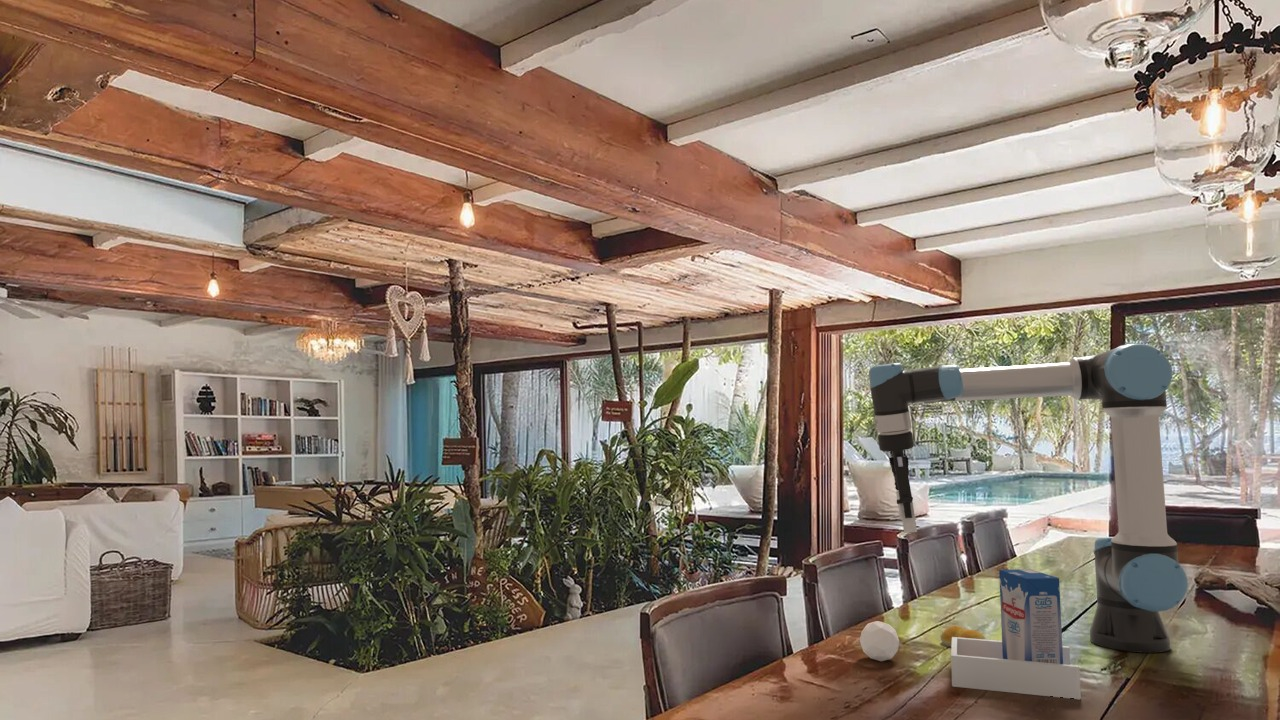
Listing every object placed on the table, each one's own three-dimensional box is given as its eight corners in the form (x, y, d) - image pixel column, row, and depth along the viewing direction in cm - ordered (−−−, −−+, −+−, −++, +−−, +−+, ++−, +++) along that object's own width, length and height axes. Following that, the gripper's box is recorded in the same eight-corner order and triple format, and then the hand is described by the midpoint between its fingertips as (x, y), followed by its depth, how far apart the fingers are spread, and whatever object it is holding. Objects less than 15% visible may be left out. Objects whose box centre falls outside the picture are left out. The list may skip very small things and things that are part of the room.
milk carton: (1003, 675, 157) (998, 569, 159) (1034, 675, 158) (1029, 569, 160) (1031, 692, 147) (1026, 578, 149) (1064, 691, 148) (1059, 577, 150)
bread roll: (974, 653, 174) (974, 633, 175) (935, 645, 181) (935, 626, 182) (993, 646, 180) (992, 627, 180) (955, 638, 187) (954, 620, 187)
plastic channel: (1070, 676, 157) (1068, 646, 157) (1080, 699, 143) (1079, 667, 144) (952, 664, 165) (951, 636, 165) (952, 686, 151) (950, 655, 151)
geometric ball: (886, 676, 166) (890, 650, 162) (851, 655, 171) (853, 630, 167) (904, 651, 171) (908, 625, 167) (869, 632, 176) (872, 606, 172)
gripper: (875, 428, 198) (888, 515, 198) (879, 440, 174) (894, 539, 174) (907, 424, 197) (920, 512, 196) (916, 436, 172) (931, 536, 172)
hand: (908, 525), depth 185 cm, fingers open, 13 cm apart
